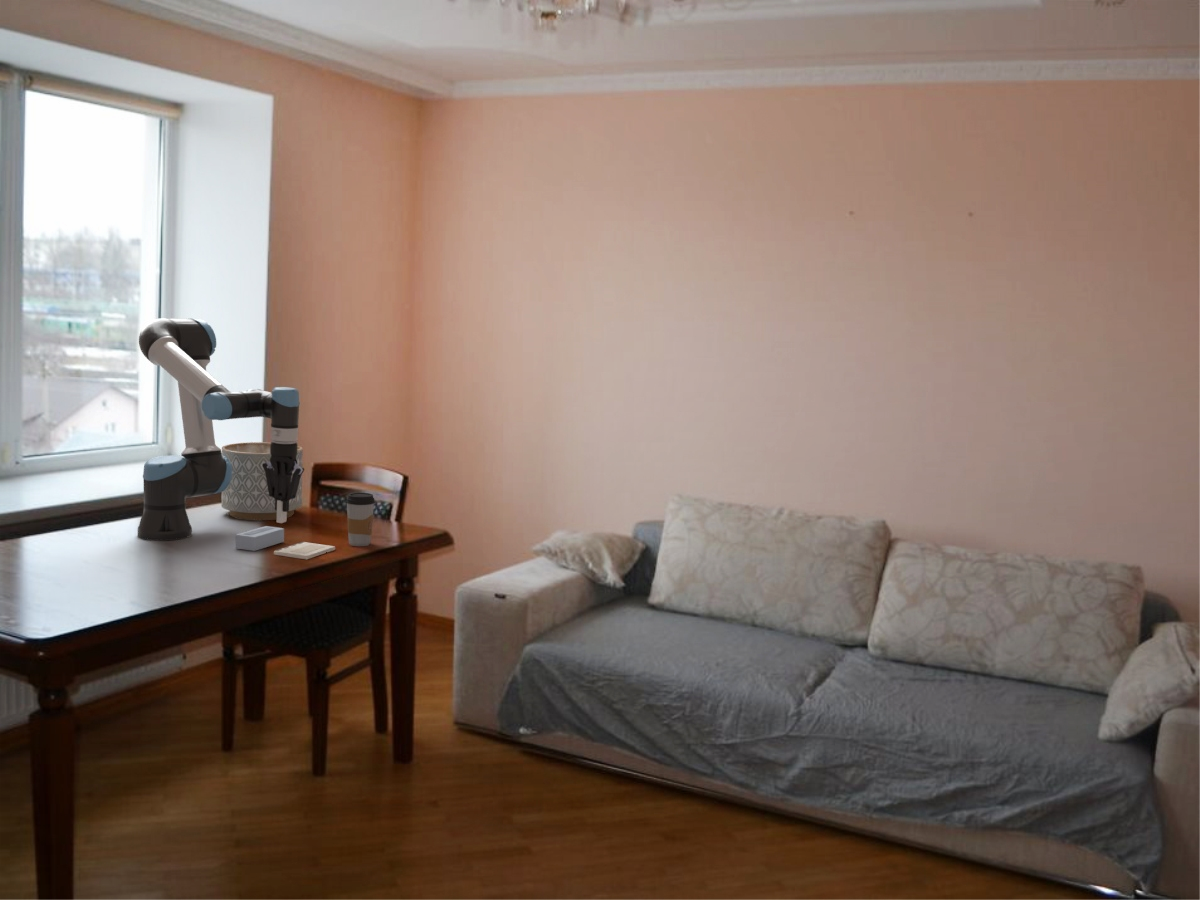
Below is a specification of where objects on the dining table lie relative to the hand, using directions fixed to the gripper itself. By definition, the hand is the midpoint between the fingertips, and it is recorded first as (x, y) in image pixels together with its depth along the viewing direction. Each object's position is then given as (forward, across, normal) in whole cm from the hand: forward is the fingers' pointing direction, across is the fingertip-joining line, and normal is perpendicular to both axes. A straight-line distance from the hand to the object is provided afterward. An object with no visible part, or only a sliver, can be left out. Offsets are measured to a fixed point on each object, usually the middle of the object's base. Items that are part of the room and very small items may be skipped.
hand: (281, 521), depth 330 cm
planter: (+10, -34, +37) cm, 51 cm away
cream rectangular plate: (+8, +8, 0) cm, 11 cm away
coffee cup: (+8, +16, +17) cm, 24 cm away
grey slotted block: (+8, -7, 0) cm, 11 cm away
